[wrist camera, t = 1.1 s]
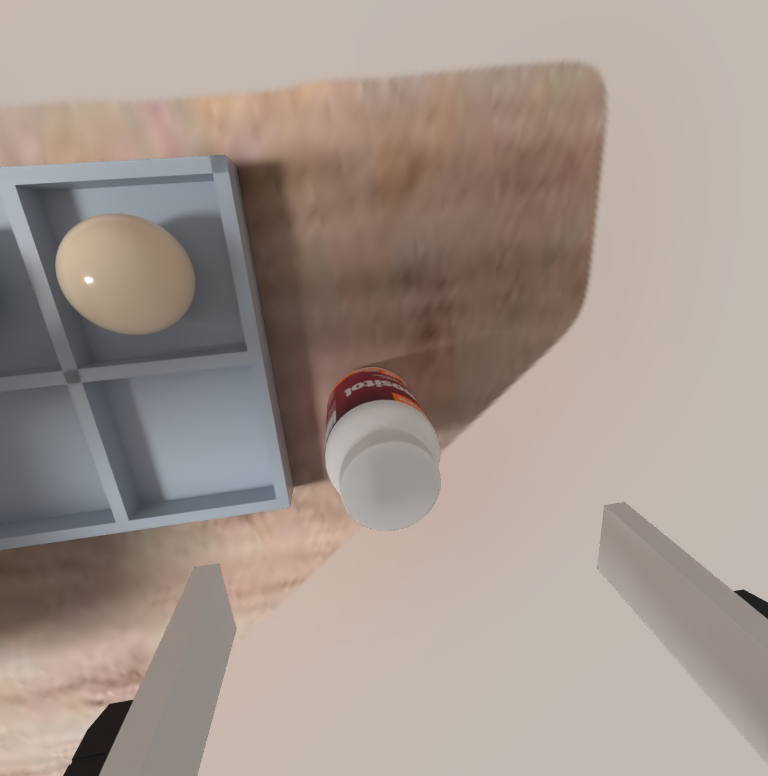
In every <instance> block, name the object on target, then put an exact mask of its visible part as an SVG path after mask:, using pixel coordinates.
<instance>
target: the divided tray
mask: <svg viewBox="0 0 768 776" xmlns="http://www.w3.org/2000/svg"><path fill="white" fill-rule="evenodd" d="M107 213H123V214H130V215H135V216H139V217H142V218H144V219H147V220H149V221H152V222H154V223H155V224H157V225H159V226H161V227H162V228H164V229H165V230H167V231H168V232H169V233H170V234H171V235H172V236H174V237H175V238H176V239H177V240H178V242H179V243H180V244H181V245H182V246H183V248H184V249H185V251H186V252H187V254H188V256H189V258H190V260H191V262H192V265H193V268H194V272H195V278H196V288H195V294H194V298H193V301H192V303H191V306H190V307H189V309H188V310H187V312H186V313H185V314H184V316H183V317H182V318H181V319H180V320H179V321H177V322H176V323H175V324H173V325H172V326H170V327H168V328H166V329H164V330H162V331H159V332H156V333H151V334H145V335H128V334H121V333H116V332H113V331H110V330H107V329H104V328H102V327H99V326H97V325H96V324H94V323H92V322H90V321H89V320H88V319H86V318H85V317H83V316H82V315H81V314H80V313H79V312H78V311H76V310H75V309H74V307H73V306H72V305H71V304H70V303H69V301H68V300H67V299H66V297H65V296H64V294H63V292H62V290H61V288H60V285H59V283H58V279H57V275H56V268H55V264H56V254H57V251H58V248H59V245H60V243H61V241H62V240H63V238H64V236H65V235H66V234H67V232H68V231H69V230H70V229H72V228H73V227H74V226H75V225H77V224H78V223H80V222H81V221H83V220H85V219H87V218H89V217H92V216H96V215H100V214H107ZM292 493H293V482H292V477H291V471H290V465H289V460H288V454H287V448H286V443H285V437H284V431H283V426H282V420H281V414H280V409H279V403H278V397H277V392H276V386H275V380H274V375H273V369H272V363H271V358H270V352H269V347H268V341H267V335H266V330H265V324H264V318H263V313H262V307H261V301H260V296H259V290H258V284H257V279H256V273H255V267H254V262H253V256H252V250H251V245H250V239H249V233H248V228H247V222H246V216H245V211H244V205H243V199H242V194H241V188H240V182H239V177H238V171H237V167H236V166H235V164H234V163H233V162H232V161H231V160H230V159H229V158H228V157H227V156H226V155H215V156H197V157H178V158H160V159H142V160H124V161H106V162H87V163H69V164H51V165H33V166H15V167H0V550H5V549H12V548H19V547H26V546H32V545H39V544H46V543H53V542H60V541H67V540H73V539H80V538H87V537H94V536H101V535H107V534H114V533H121V532H128V531H135V530H141V529H148V528H155V527H162V526H169V525H175V524H182V523H189V522H196V521H203V520H209V519H216V518H223V517H230V516H237V515H243V514H250V513H257V512H264V511H271V510H278V509H284V508H290V505H291V499H292Z"/></svg>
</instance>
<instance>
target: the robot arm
mask: <svg viewBox="0 0 768 776" xmlns="http://www.w3.org/2000/svg"><path fill="white" fill-rule="evenodd" d="M597 569H598V570H599V571H600V572H601V573H602V575H603V576H604V577H605V578H606V579H607V580H608V582H609V583H610V584H611V585H612V586H613V587H614V588H615V590H616V591H617V592H618V593H619V594H620V595H621V597H622V598H623V599H624V600H625V601H626V602H627V603H628V605H629V606H630V607H631V608H632V609H633V610H634V612H635V613H636V614H637V615H638V616H639V617H640V618H641V620H642V621H643V622H644V623H645V624H646V625H647V627H648V628H649V629H650V630H651V631H652V632H653V633H654V635H655V636H656V637H657V638H658V639H659V640H660V642H661V643H662V644H663V645H664V646H665V647H666V648H667V650H668V651H669V652H670V653H671V654H672V655H673V657H674V658H675V659H676V660H677V661H678V662H679V663H680V665H681V666H682V667H683V668H684V669H685V670H686V672H687V673H688V674H689V675H690V676H691V677H692V678H693V680H694V681H695V682H696V683H697V684H698V685H699V687H700V688H701V689H702V690H703V691H704V692H705V694H706V695H707V696H708V697H709V698H710V699H711V700H712V702H713V703H714V704H715V705H716V706H717V707H718V709H719V710H720V711H721V712H722V713H723V714H724V715H725V717H726V718H727V719H728V720H729V721H730V722H731V724H732V725H733V726H734V727H735V728H736V729H737V730H738V732H739V733H740V734H741V735H742V736H743V737H744V739H745V740H746V741H747V742H748V743H749V744H750V745H751V747H752V748H753V749H754V750H755V751H756V752H757V754H758V755H759V756H760V757H761V758H762V759H763V760H764V761H765V763H766V764H767V765H768V602H766V601H764V600H762V599H760V598H758V597H757V596H755V595H753V594H751V593H749V592H747V591H745V590H738V591H733V590H731V589H730V588H729V587H728V586H726V585H725V584H724V583H723V582H722V581H720V580H719V579H718V578H717V577H715V576H714V575H713V574H712V573H711V572H709V571H708V570H707V569H706V568H704V567H703V566H702V565H701V564H699V563H698V562H697V561H696V560H695V559H693V558H692V557H691V556H690V555H689V554H687V553H686V552H685V551H684V550H682V549H681V548H680V547H679V546H677V545H676V544H675V543H674V542H673V541H671V540H670V539H669V538H668V537H667V536H665V535H664V534H663V533H662V532H660V531H659V530H658V529H657V528H656V527H654V526H653V525H652V524H651V523H649V522H648V521H647V520H646V519H645V518H643V517H642V516H641V515H640V514H638V513H637V512H636V511H635V510H633V509H632V508H631V507H630V506H629V505H627V504H626V503H625V502H624V503H617V504H610V505H605V506H604V512H603V521H602V531H601V539H600V548H599V557H598V566H597ZM235 632H236V625H235V621H234V617H233V614H232V610H231V606H230V602H229V598H228V595H227V591H226V587H225V583H224V579H223V576H222V572H221V568H220V564H213V565H207V566H200V567H194V570H193V572H192V574H191V576H190V578H189V581H188V583H187V585H186V587H185V589H184V591H183V594H182V596H181V598H180V600H179V602H178V604H177V607H176V609H175V611H174V613H173V615H172V618H171V620H170V622H169V624H168V626H167V628H166V631H165V633H164V635H163V637H162V639H161V641H160V644H159V646H158V648H157V650H156V652H155V654H154V657H153V659H152V661H151V663H150V665H149V668H148V670H147V672H146V674H145V676H144V678H143V681H142V683H141V685H140V687H139V689H138V691H137V694H136V696H135V698H134V700H129V701H124V702H118V703H113V704H109V705H108V706H107V708H106V709H105V710H104V711H103V712H102V713H101V715H100V716H99V717H98V718H97V719H96V721H95V722H94V723H93V724H92V725H91V726H90V728H89V729H88V730H87V732H86V734H85V736H84V738H83V739H82V741H81V743H80V745H79V747H78V749H77V751H76V753H75V755H74V756H73V758H72V763H71V765H69V766H68V768H67V770H66V772H65V773H64V775H63V776H197V774H198V771H199V767H200V763H201V759H202V756H203V752H204V748H205V745H206V741H207V737H208V733H209V730H210V726H211V722H212V718H213V715H214V711H215V707H216V703H217V700H218V696H219V692H220V688H221V685H222V681H223V677H224V673H225V670H226V666H227V662H228V658H229V655H230V651H231V647H232V644H233V640H234V636H235Z"/></svg>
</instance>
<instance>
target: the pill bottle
mask: <svg viewBox="0 0 768 776" xmlns="http://www.w3.org/2000/svg"><path fill="white" fill-rule="evenodd" d="M439 461H440V445H439V440H438V437H437V434H436V432H435V430H434V428H433V426H432V424H431V423H430V421H429V419H428V418H427V416H426V415H425V413H424V412H423V410H422V408H421V407H420V405H419V404H418V402H417V400H416V399H415V397H414V396H413V394H412V392H411V390H410V389H409V387H408V386H407V385H406V383H405V382H404V381H403V380H402V379H401V378H400V377H399V376H397V375H396V374H395V373H393V372H391V371H389V370H386V369H383V368H378V367H366V368H361V369H357V370H355V371H352V372H350V373H348V374H347V375H345V376H344V377H343V378H342V379H340V380H339V381H338V383H337V384H336V385H335V386H334V388H333V390H332V392H331V394H330V397H329V400H328V404H327V421H326V444H325V463H326V469H327V473H328V476H329V478H330V480H331V482H332V484H333V486H334V487H335V489H336V490H337V491H338V492H339V493H340V494H341V498H342V502H343V505H344V507H345V509H346V510H347V512H348V514H349V515H350V516H351V517H352V518H353V519H354V520H355V521H357V522H358V523H359V524H361V525H363V526H365V527H367V528H370V529H374V530H379V531H395V530H399V529H403V528H406V527H408V526H411V525H413V524H414V523H416V522H418V521H419V520H421V519H422V518H423V517H424V516H425V515H426V514H427V513H428V512H429V511H430V510H431V509H432V507H433V506H434V504H435V502H436V500H437V498H438V495H439V491H440V486H441V481H440V480H441V479H440V472H439V469H438V466H439Z"/></svg>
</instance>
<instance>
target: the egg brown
mask: <svg viewBox="0 0 768 776" xmlns="http://www.w3.org/2000/svg"><path fill="white" fill-rule="evenodd" d="M55 268H56V275H57V279H58V283H59V285H60V288H61V290H62V292H63V294H64V296H65V297H66V299H67V300H68V301H69V303H70V304H71V305H72V306H73V307H74V309H75V310H76V311H78V312H79V313H80V314H81V315H82V316H83V317H85V318H86V319H88V320H89V321H90V322H92V323H94V324H96V325H97V326H99V327H102V328H104V329H107V330H110V331H113V332H116V333H121V334H128V335H145V334H151V333H156V332H159V331H162V330H164V329H166V328H168V327H170V326H172V325H173V324H175V323H176V322H177V321H179V320H180V319H181V318H182V317H183V316H184V314H185V313H186V312H187V310H188V309H189V307H190V306H191V303H192V301H193V298H194V294H195V288H196V278H195V272H194V268H193V265H192V262H191V260H190V258H189V256H188V254H187V252H186V251H185V249H184V248H183V246H182V245H181V244H180V243H179V242H178V240H177V239H176V238H175V237H174V236H172V235H171V234H170V233H169V232H168V231H167V230H165V229H164V228H162V227H161V226H159V225H157V224H155V223H154V222H152V221H149V220H147V219H144V218H142V217H139V216H135V215H130V214H123V213H107V214H100V215H96V216H92V217H89V218H87V219H85V220H83V221H81V222H80V223H78V224H77V225H75V226H74V227H73V228H72V229H70V230H69V231H68V232H67V234H66V235H65V236H64V238H63V240H62V241H61V243H60V245H59V248H58V251H57V254H56V264H55Z"/></svg>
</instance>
